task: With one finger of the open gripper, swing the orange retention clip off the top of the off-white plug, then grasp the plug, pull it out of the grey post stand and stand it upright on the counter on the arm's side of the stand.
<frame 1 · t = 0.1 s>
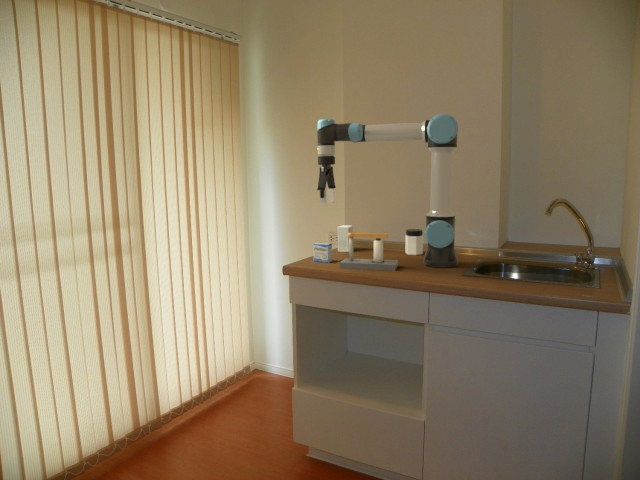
hand: (327, 204, 218), 28 cm above the countertop, fingers open, 13 cm apart
plug: (378, 267, 215), resting on grey post stand
grey post stand: (369, 268, 216), on the countertop
medicine box: (322, 261, 232), on the countertop
retention clip: (367, 235, 214), point 15 cm above the countertop, hinge at 0.0°
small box: (345, 250, 260), on the countertop
jar: (413, 254, 248), on the countertop
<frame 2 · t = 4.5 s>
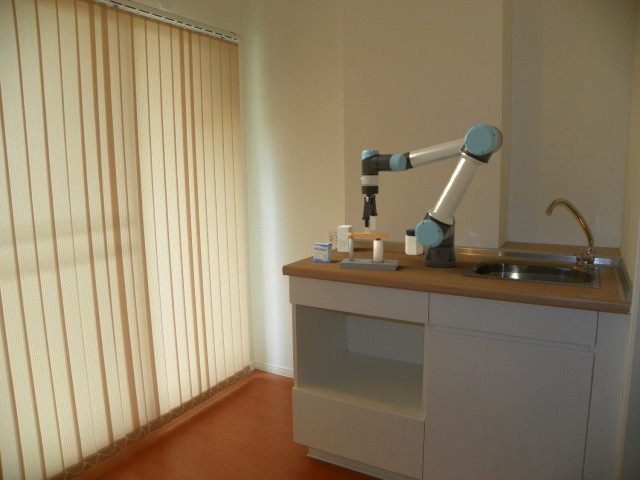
hand: (370, 232, 222), 15 cm above the countertop, fingers open, 13 cm apart
retention clip: (367, 235, 214), point 15 cm above the countertop, hinge at 0.1°, touching gripper
everything else where it was.
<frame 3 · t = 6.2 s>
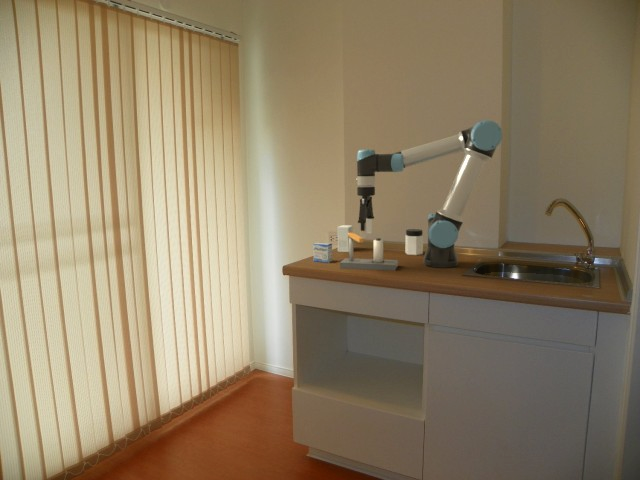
hand: (366, 235, 213), 15 cm above the countertop, fingers open, 12 cm apart
retention clip: (355, 237, 209), point 15 cm above the countertop, hinge at 62.6°, touching gripper
everything else where it was.
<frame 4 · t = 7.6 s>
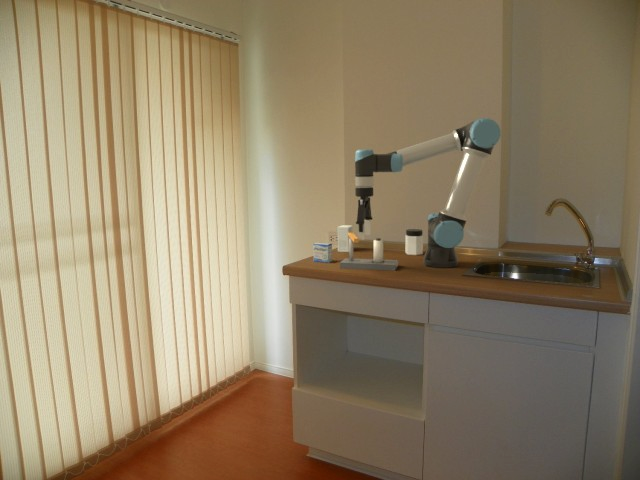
hand: (364, 237, 209), 15 cm above the countertop, fingers open, 13 cm apart
retention clip: (353, 237, 209), point 15 cm above the countertop, hinge at 70.2°, touching gripper
everything else where it was.
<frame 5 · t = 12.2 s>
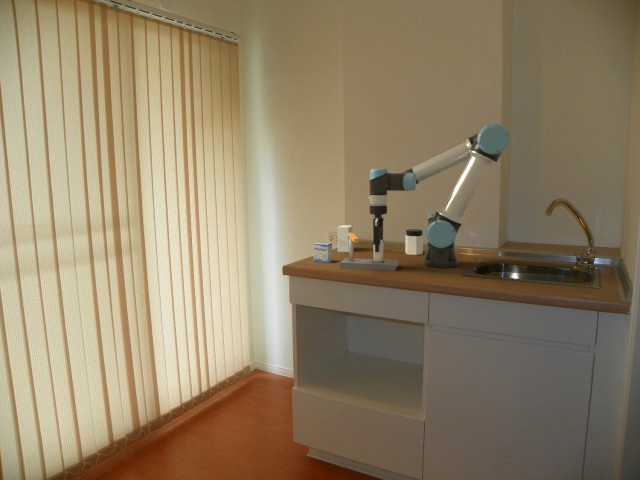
hand: (378, 258, 215), 5 cm above the countertop, fingers closed on plug, 4 cm apart
plug: (378, 267, 215), point 1 cm above the countertop, touching gripper
retention clip: (353, 237, 209), point 15 cm above the countertop, hinge at 70.2°
everything else where it was.
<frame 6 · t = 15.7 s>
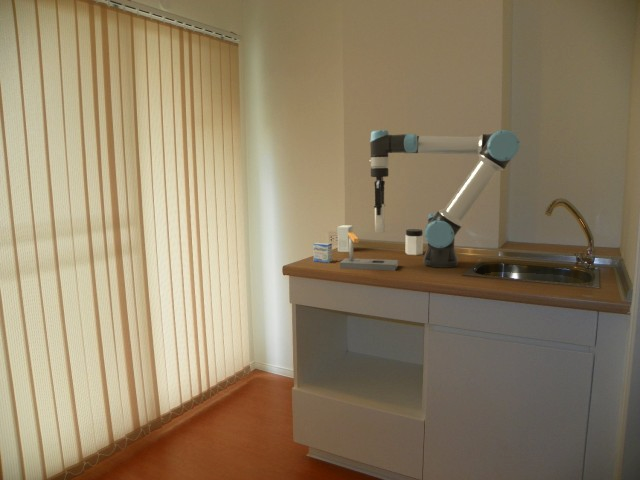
hand: (379, 221, 213), 20 cm above the countertop, fingers closed on plug, 4 cm apart
plug: (379, 232, 213), point 16 cm above the countertop, touching gripper
everything else where it was.
when the fingers open (7 cm above the countertop, at t = 19.2 s): plug drops 3 cm, on the countertop.
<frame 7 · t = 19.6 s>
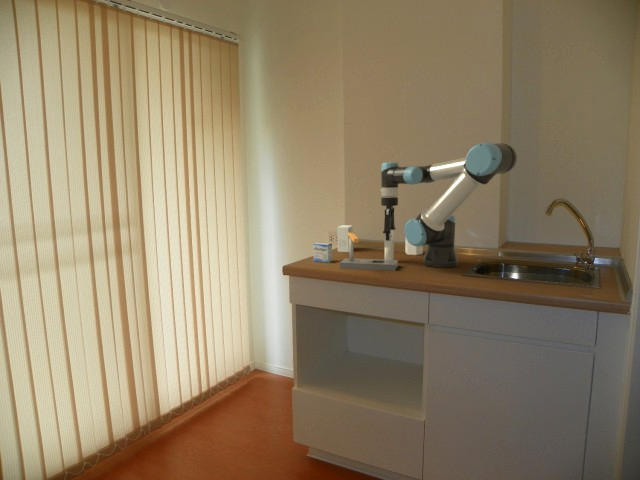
hand: (389, 245, 225), 8 cm above the countertop, fingers open, 9 cm apart
plug: (389, 262, 227), on the countertop
everything else where it was.
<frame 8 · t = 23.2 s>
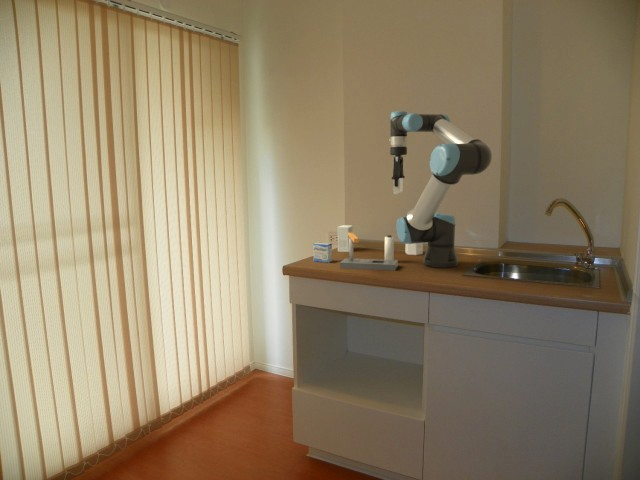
hand: (398, 193, 228), 32 cm above the countertop, fingers open, 13 cm apart
nothing on the countertop moved.
at the end: retention clip at +70° (first picture: +0°); plug inside the target area (0.1 cm from its centre), on the countertop; plug tilted 0° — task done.
